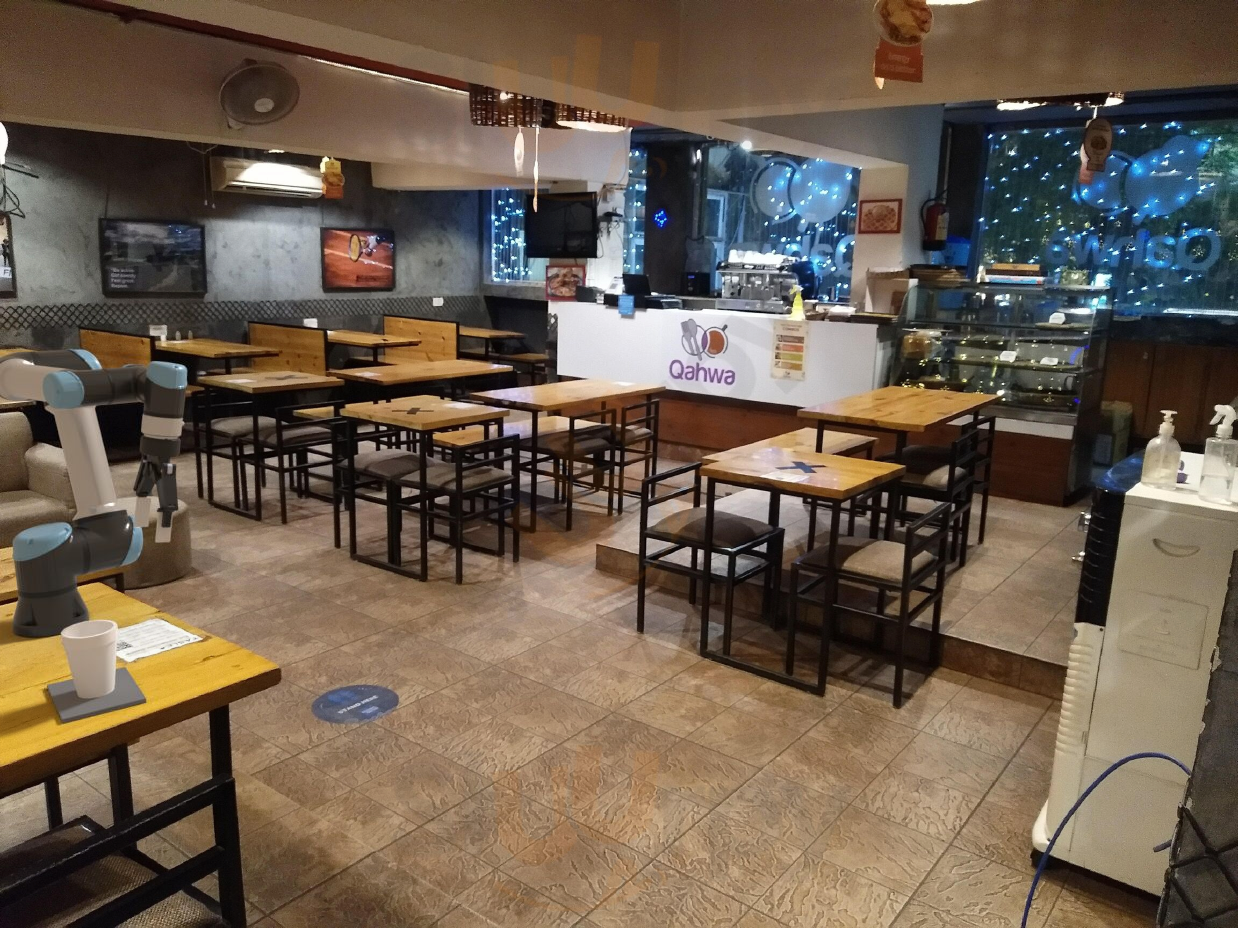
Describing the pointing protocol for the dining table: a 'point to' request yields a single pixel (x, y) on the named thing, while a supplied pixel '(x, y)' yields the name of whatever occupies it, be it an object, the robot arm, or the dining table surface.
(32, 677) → the dining table surface
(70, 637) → the foam cup
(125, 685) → the rubber mat
